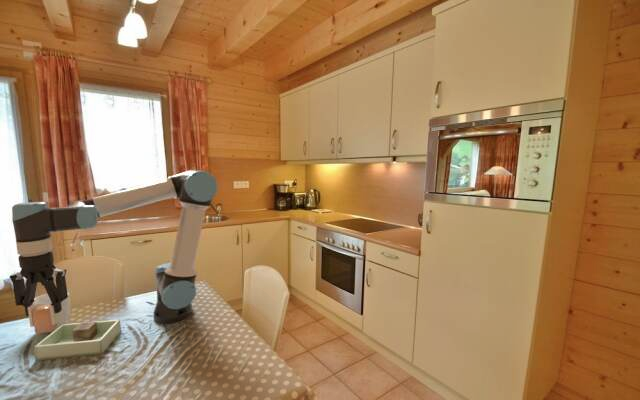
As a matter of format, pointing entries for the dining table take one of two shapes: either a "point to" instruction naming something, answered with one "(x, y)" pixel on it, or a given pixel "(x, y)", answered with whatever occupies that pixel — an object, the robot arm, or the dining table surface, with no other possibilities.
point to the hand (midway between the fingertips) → (45, 323)
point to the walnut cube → (85, 331)
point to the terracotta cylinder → (42, 319)
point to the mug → (63, 313)
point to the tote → (65, 347)
